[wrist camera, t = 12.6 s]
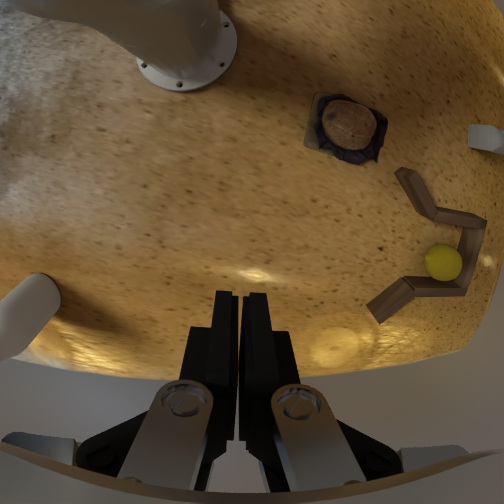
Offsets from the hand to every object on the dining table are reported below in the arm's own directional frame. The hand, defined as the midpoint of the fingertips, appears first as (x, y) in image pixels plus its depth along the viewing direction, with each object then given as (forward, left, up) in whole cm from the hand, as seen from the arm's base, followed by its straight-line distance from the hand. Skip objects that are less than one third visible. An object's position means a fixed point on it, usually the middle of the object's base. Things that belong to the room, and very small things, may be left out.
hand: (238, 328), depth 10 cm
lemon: (+7, +27, -26) cm, 38 cm away
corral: (+6, +29, -29) cm, 42 cm away
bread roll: (-9, +13, -30) cm, 34 cm away
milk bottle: (+18, -32, -29) cm, 47 cm away
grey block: (-13, +37, -29) cm, 49 cm away
